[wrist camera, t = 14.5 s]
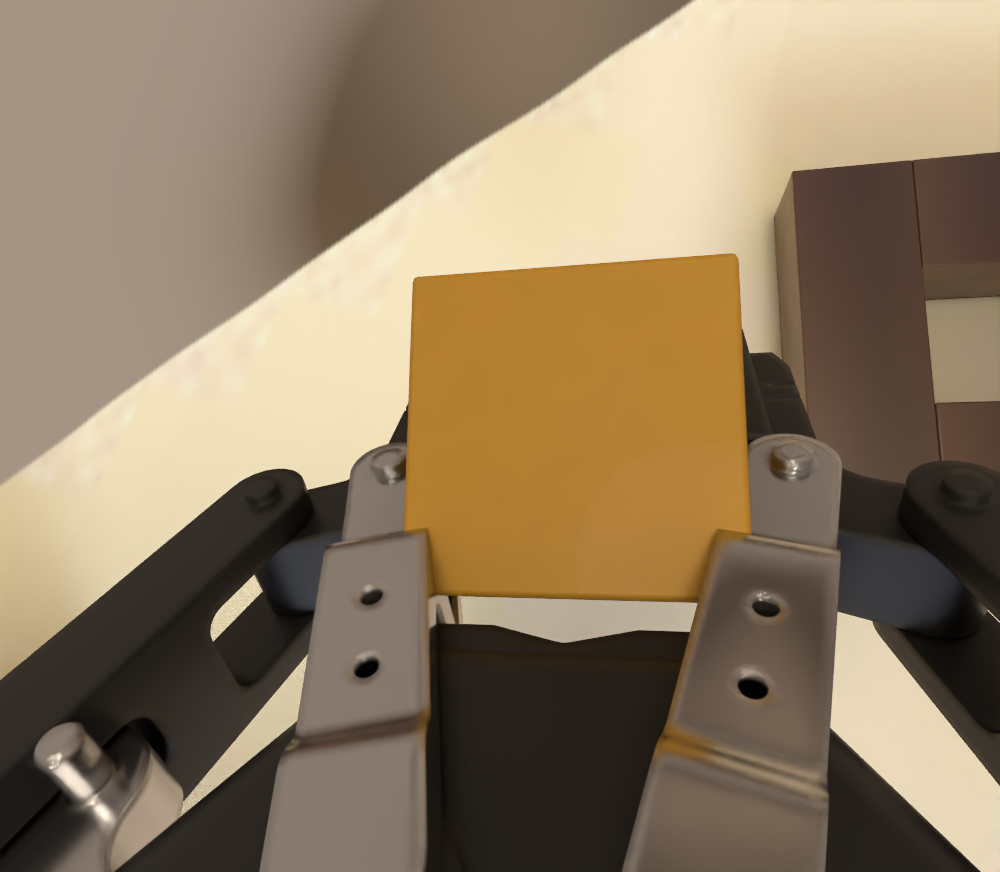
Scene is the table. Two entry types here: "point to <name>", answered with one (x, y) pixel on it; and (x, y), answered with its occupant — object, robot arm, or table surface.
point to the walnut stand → (886, 305)
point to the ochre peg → (578, 428)
